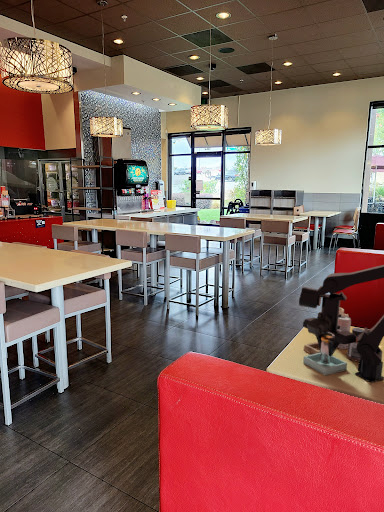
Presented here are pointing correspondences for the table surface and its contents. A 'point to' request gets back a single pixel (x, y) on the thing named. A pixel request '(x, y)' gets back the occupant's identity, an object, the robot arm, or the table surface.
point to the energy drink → (344, 328)
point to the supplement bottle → (354, 346)
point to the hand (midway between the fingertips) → (325, 353)
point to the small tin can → (325, 350)
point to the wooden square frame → (312, 348)
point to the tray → (325, 369)
